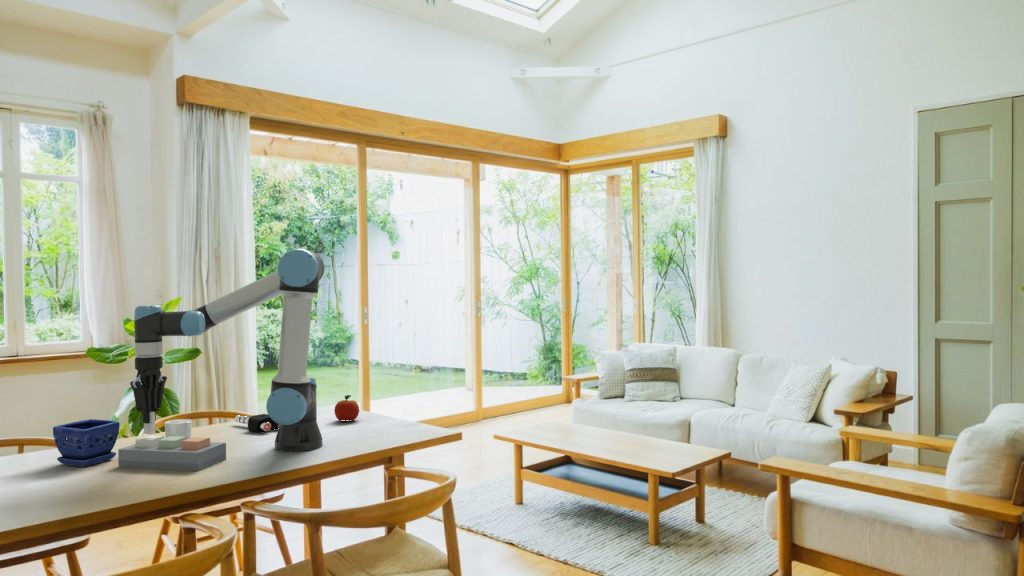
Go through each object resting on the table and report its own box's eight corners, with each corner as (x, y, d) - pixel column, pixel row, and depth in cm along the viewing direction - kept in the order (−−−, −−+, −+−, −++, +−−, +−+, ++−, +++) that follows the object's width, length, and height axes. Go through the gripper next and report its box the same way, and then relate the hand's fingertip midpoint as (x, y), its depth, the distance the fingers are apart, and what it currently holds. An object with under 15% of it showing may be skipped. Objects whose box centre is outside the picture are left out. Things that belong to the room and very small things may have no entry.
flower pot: (122, 458, 215) (121, 420, 215) (83, 469, 202) (83, 429, 202) (90, 455, 219) (90, 418, 219) (50, 466, 207) (50, 426, 207)
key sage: (187, 448, 210) (186, 436, 210) (174, 452, 205) (174, 440, 205) (171, 447, 212) (171, 436, 212) (158, 451, 206) (158, 440, 206)
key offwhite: (164, 447, 212) (164, 435, 212) (151, 451, 207) (151, 439, 207) (148, 446, 213) (148, 435, 213) (135, 450, 208) (135, 439, 208)
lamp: (261, 420, 247) (222, 413, 262) (262, 435, 247) (222, 427, 262) (287, 415, 256) (247, 409, 271) (287, 429, 256) (248, 422, 271)
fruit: (330, 423, 267) (329, 397, 267) (340, 418, 276) (340, 393, 276) (353, 423, 265) (353, 397, 265) (363, 418, 275) (362, 393, 275)
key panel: (226, 459, 212) (225, 442, 212) (198, 470, 199) (198, 452, 199) (150, 456, 217) (149, 439, 217) (118, 466, 205) (118, 449, 205)
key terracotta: (210, 449, 209) (210, 437, 209) (198, 453, 203) (198, 441, 203) (194, 448, 210) (194, 437, 210) (182, 452, 204) (181, 441, 204)
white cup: (181, 455, 218) (180, 424, 218) (159, 454, 219) (159, 423, 219) (197, 449, 225) (197, 419, 225) (176, 449, 227) (175, 418, 227)
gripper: (153, 353, 217) (154, 428, 217) (121, 358, 204) (122, 437, 204) (174, 354, 215) (175, 429, 215) (143, 358, 203) (144, 438, 203)
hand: (149, 433), depth 210 cm, fingers closed
